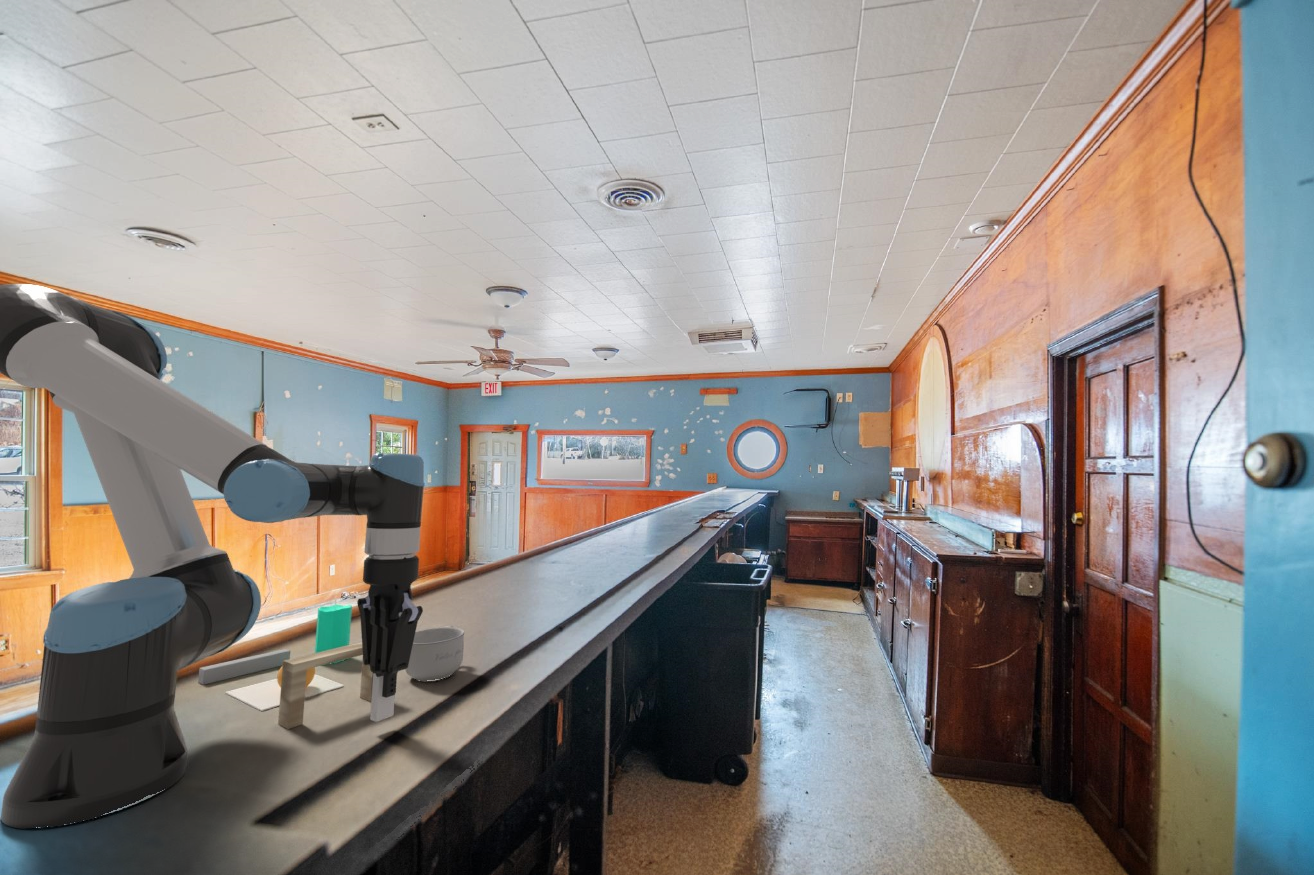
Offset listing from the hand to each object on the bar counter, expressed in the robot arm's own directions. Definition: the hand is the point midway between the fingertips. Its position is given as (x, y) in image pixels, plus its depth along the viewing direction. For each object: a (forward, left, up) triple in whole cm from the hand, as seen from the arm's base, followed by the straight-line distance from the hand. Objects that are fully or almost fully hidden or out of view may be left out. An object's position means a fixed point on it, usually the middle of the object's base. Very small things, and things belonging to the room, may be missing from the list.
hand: (381, 717), depth 81 cm
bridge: (0, +13, -2) cm, 13 cm away
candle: (+13, +38, -2) cm, 40 cm away
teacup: (+20, +14, -2) cm, 25 cm away
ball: (+1, +26, +1) cm, 26 cm away
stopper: (0, +43, -2) cm, 43 cm away
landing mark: (0, +28, -2) cm, 28 cm away
